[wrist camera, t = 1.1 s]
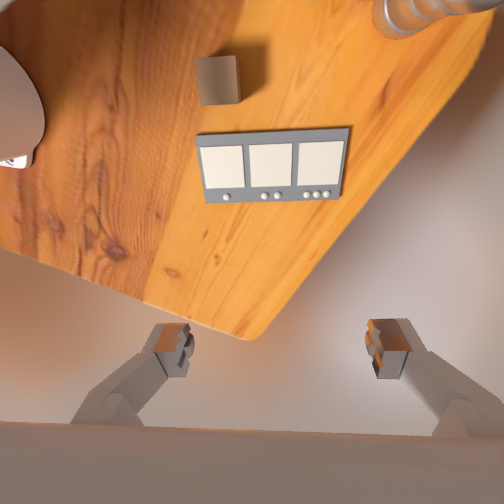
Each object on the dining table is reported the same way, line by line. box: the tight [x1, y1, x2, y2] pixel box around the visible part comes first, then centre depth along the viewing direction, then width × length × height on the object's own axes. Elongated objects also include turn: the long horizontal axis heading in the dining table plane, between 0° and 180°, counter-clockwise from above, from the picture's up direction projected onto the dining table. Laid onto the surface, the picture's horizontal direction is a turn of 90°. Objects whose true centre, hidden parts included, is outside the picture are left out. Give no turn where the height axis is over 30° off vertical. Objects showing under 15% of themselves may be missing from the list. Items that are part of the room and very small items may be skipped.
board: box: [195, 128, 349, 203], centre depth 37 cm, size 21×10×1 cm, turn 93°
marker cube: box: [194, 55, 242, 106], centre depth 30 cm, size 4×4×4 cm
